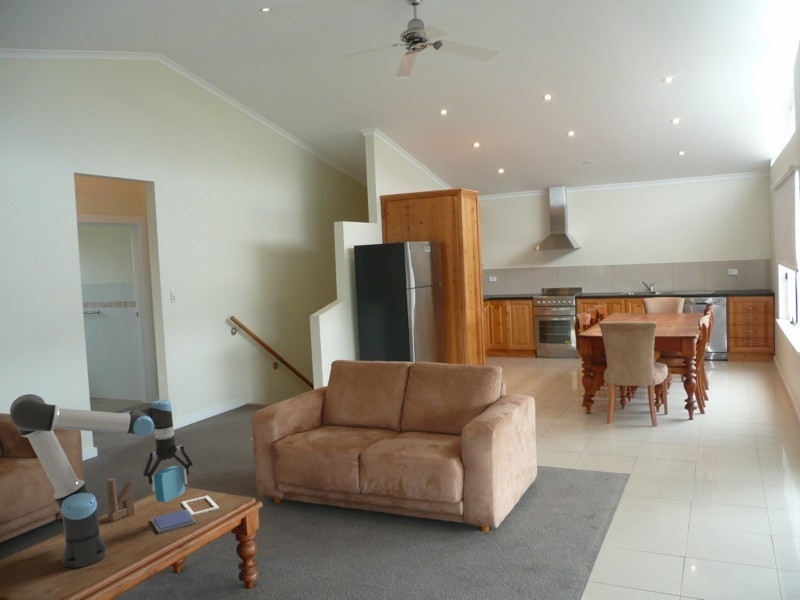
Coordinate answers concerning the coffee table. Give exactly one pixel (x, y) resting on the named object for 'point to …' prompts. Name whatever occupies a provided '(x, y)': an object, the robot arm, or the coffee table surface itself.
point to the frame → (202, 510)
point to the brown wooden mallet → (119, 500)
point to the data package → (169, 483)
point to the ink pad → (172, 521)
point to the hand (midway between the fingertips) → (170, 487)
